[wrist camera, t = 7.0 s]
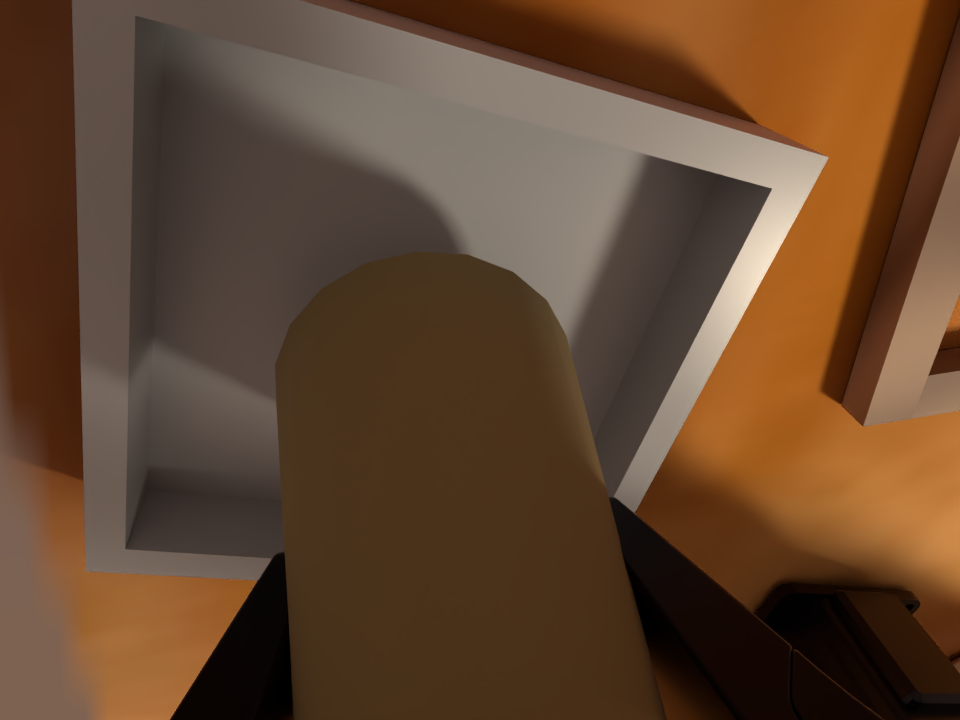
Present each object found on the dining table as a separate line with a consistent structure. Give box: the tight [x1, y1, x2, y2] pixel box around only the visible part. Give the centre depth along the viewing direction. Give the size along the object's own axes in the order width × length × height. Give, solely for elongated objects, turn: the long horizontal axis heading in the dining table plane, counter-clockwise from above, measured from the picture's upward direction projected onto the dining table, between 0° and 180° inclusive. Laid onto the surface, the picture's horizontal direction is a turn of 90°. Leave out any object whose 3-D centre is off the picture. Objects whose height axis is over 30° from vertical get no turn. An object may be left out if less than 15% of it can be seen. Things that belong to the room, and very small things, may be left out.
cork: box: [275, 251, 667, 720], centre depth 9 cm, size 6×6×11 cm
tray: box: [72, 0, 829, 580], centre depth 15 cm, size 13×13×2 cm
